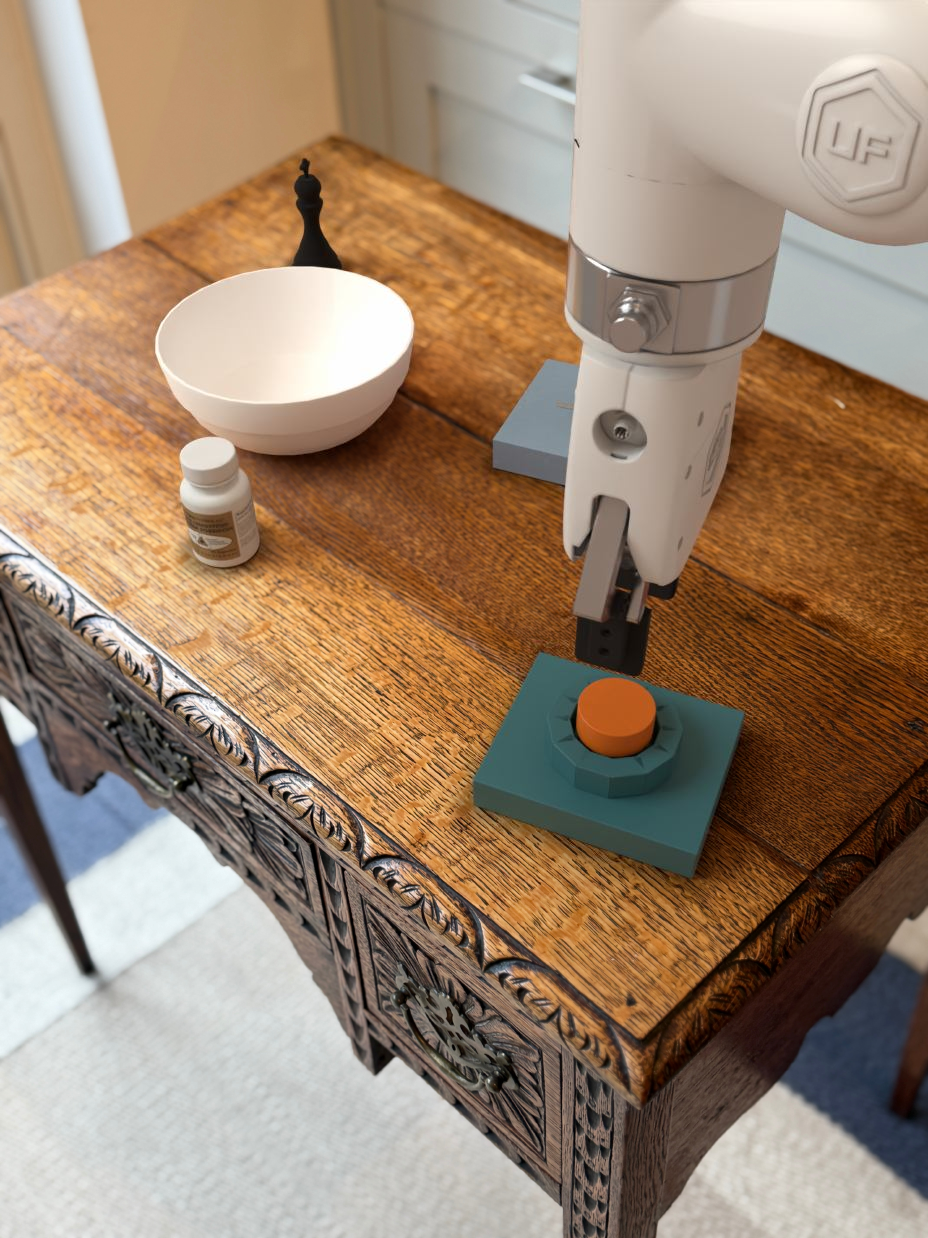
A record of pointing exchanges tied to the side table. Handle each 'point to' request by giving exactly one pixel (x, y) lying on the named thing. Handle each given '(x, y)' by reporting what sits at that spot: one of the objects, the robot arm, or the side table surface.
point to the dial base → (540, 426)
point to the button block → (610, 769)
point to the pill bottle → (217, 503)
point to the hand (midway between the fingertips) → (626, 623)
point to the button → (615, 717)
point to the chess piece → (312, 224)
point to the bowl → (287, 356)
